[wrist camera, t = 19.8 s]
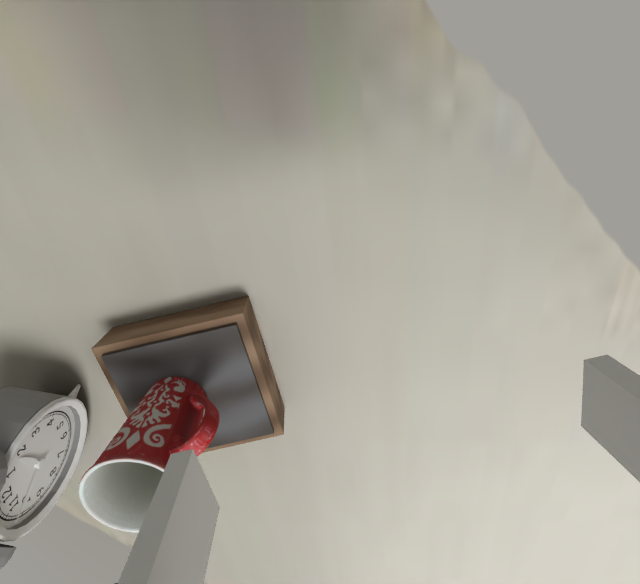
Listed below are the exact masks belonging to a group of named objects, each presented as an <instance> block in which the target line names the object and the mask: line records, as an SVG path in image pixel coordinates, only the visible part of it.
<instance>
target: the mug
mask: <svg viewBox="0 0 640 584" xmlns="http://www.w3.org/2000/svg"><path fill="white" fill-rule="evenodd" d="M218 426H219V412H218V410H217V408H216V407H215V405H214V404H213V403H212V402H211V401H210V400H209V399H207V396H206V394H205V392H204V390H203V389H202V388H201V387H200V386H199V385H198V384H197V383H195V382H194V381H192V380H190V379H187V378H184V377H175V376H174V377H166V378H163V379H161V380H158V381H157V382H156V383H154V384H153V385H152V386H151V387H150V389H149V390H148V391H147V393H146V394H145V396H144V397H143V398H142V399H141V401H140V402H139V404H138V405H137V407H136V408H135V409H134V411H133V412H132V413H131V415H130V416H129V417H128V419H127V420H126V422H125V423H124V424H123V426H122V427H121V428H120V430H119V431H118V433H117V434H116V435H115V436H114V438H113V439H112V441H111V442H110V443H109V445H108V446H107V447H106V449H105V450H104V452H103V453H102V454H101V456H100V457H99V458H98V460H97V461H96V462H95V464H94V465H93V466H92V467H91V468H89V469H88V470H87V471H86V473H85V474H84V475H83V477H82V479H81V481H80V485H79V496H80V500H81V502H82V504H83V506H84V508H85V509H86V511H87V512H88V513H89V514H90V515H91V516H92V517H93V518H95V519H96V520H97V521H99V522H101V523H102V524H104V525H106V526H108V527H111V528H114V529H117V530H120V531H125V532H135V533H139V530H140V528H141V526H142V523H143V521H144V518H145V516H146V513H147V511H148V509H149V506H150V504H151V501H152V499H153V496H154V494H155V491H156V489H157V487H158V484H159V482H160V479H161V477H162V474H163V472H164V470H165V467H166V465H167V462H168V460H169V457H170V455H171V454H173V453H178V452H182V451H186V450H191V449H193V450H194V452H195V454H196V456H198V455H200V454H201V453H202V452H203V451H204V450H205V449H206V448H207V447H208V445H209V444H210V443H211V442H212V440H213V438H214V436H215V434H216V432H217V429H218Z"/></svg>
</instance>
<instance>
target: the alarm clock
mask: <svg viewBox="0 0 640 584" xmlns="http://www.w3.org/2000/svg"><path fill="white" fill-rule="evenodd" d="M80 387H81V385H80V384H78V385H77V386H76V387H75V388H74V390H73V391H72V392H71V393H70V394H69V395H68V396H64V395H58V394H53V393H47V392H42V391H37V390H31V389H26V388H20V387H5V388H1V389H0V541H14V540H16V539H18V538H20V537H22V536H24V535H26V534H27V533H28V532H30V531H31V530H32V529H33V528H34V527H35V526H37V525H38V524H39V523H40V522H41V521H42V520H43V519H44V517H45V516H46V515H47V514H48V513H49V512H50V510H51V509H52V508H53V506H54V505H55V504H56V502H57V501H58V499H59V498H60V497H61V495H62V493H63V492H64V490H65V488H66V486H67V485H68V483H69V481H70V479H71V477H72V475H73V473H74V471H75V469H76V466H77V464H78V462H79V459H80V456H81V453H82V450H83V447H84V443H85V438H86V434H87V423H88V419H87V411H86V408H85V406H84V404H83V402H81V401H80V400H78V399H77V398H76V397H77V394H78V392H79V389H80ZM15 549H16V547H14V546H9V545H4V544H0V569H1V568H2V567H4V566H5V564H6V563H7V562H8V560H10V558H11V557H12V555H13V553H14V551H15Z"/></svg>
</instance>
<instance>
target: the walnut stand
mask: <svg viewBox="0 0 640 584" xmlns="http://www.w3.org/2000/svg"><path fill="white" fill-rule="evenodd" d="M91 349H92V351H93V353H94V355H95V357H96V359H97V361H98V362H99V364H100V366H101V368H102V370H103V372H104V374H105V376H106V378H107V380H108V382H109V384H110V385H111V387H112V389H113V391H114V393H115V395H116V397H117V399H118V401H119V403H120V405H121V407H122V409H123V410H124V412H125V414H126V416H127V418H128V417H129V416H130V415H131V413H132V412H133V411H134V409H135V408H136V407H137V405H138V404H139V402H140V401H141V399H142V398H143V397H144V396H145V394H146V393H147V391H148V390H149V389H150V387H151V386H152V385H153V384H154V383H156V382H157V381H158V380H161V379H163V378H166V377H174V376H175V377H184V378H187V379H190V380H192V381H194V382H195V383H197V384H198V385H199V386H200V387H201V388H202V389H203V390H204V392H205V394H206V396H207V399H209V400H210V401H211V402H212V403H213V404H214V405H215V407H216V408H217V410H218V412H219V426H218V429H217V432H216V434H215V436H214V438H213V440H212V442H211V443H210V444H209V445H208V447H207V448H206V449H205V450H204V451H203V452H208V451H212V450H217V449H221V448H225V447H230V446H234V445H239V444H243V443H247V442H252V441H256V440H261V439H265V438H269V437H274V436H278V435H283V434H284V409H285V408H284V404H283V401H282V398H281V395H280V392H279V389H278V386H277V383H276V380H275V376H274V373H273V370H272V367H271V364H270V361H269V358H268V355H267V352H266V349H265V345H264V342H263V339H262V336H261V333H260V330H259V327H258V324H257V321H256V318H255V314H254V311H253V308H252V305H251V302H250V299H249V296H245V297H241V298H237V299H232V300H228V301H224V302H220V303H216V304H211V305H207V306H203V307H199V308H194V309H190V310H186V311H182V312H177V313H173V314H169V315H165V316H160V317H156V318H152V319H148V320H144V321H139V322H135V323H131V324H127V325H122V326H118V327H114V328H112V329H111V330H110V331H109V332H108V333H107V334H106V335H105V336H104V337H103V338H102V339H101V340H100V341H99V342H98V343H97V344H96V345H95V346H94V347H92V348H91ZM203 452H202V453H203Z"/></svg>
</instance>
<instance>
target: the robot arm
mask: <svg viewBox="0 0 640 584" xmlns="http://www.w3.org/2000/svg"><path fill="white" fill-rule="evenodd" d="M581 426H582V427H583V428H584V429H585V430H586V431H587V432H588V433H589V434H590V435H591V436H592V437H593V438H594V439H595V440H596V441H597V442H598V443H599V444H601V445H602V446H603V447H604V448H605V449H606V450H607V451H608V452H609V453H610V454H611V455H612V456H613V457H614V458H615V459H616V460H617V461H618V462H619V463H620V464H621V465H622V466H623V467H624V468H625V469H627V470H628V471H629V472H630V473H631V474H632V475H633V476H634V477H635V478H636V479H637V480H638V481H639V482H640V376H639V375H638V374H636V373H635V372H633V371H632V370H630V369H629V368H627V367H626V366H624V365H622V364H621V363H619V362H618V361H616V360H615V359H613V358H612V357H610V356H609V355H604V356H599V357H595V358H590V359H586V360H584V371H583V395H582V419H581ZM218 512H219V504H218V502H217V500H216V498H215V496H214V494H213V491H212V489H211V487H210V485H209V483H208V480H207V478H206V476H205V474H204V472H203V469H202V467H201V465H200V463H199V461H198V459H197V456H196V454H195V452H194V450H193V449H191V450H186V451H182V452H178V453H173V454H171V455H170V457H169V460H168V462H167V465H166V467H165V470H164V472H163V474H162V477H161V479H160V482H159V484H158V487H157V489H156V491H155V494H154V496H153V499H152V501H151V504H150V506H149V509H148V511H147V513H146V516H145V518H144V521H143V523H142V526H141V528H140V530H139V533H138V535H137V538H136V540H135V543H134V545H133V548H132V550H131V552H130V555H129V557H128V560H127V562H126V565H125V567H124V570H123V572H122V574H121V577H120V579H119V582H118V583H116V584H203V583H204V578H205V573H206V569H207V564H208V559H209V554H210V550H211V545H212V540H213V536H214V531H215V526H216V522H217V517H218Z"/></svg>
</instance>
